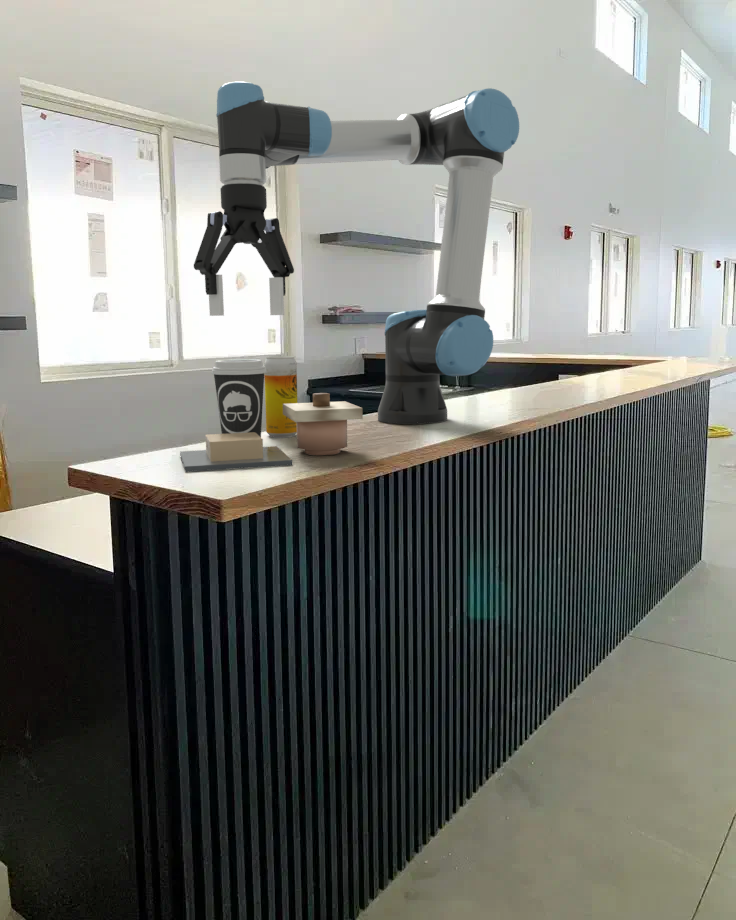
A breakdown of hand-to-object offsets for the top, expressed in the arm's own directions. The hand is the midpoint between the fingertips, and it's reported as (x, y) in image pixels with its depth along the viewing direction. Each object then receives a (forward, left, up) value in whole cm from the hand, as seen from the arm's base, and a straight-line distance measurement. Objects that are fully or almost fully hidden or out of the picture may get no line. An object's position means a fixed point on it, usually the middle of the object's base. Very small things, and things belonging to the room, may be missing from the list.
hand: (248, 315), depth 134 cm
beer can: (-7, -11, -23) cm, 26 cm away
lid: (-10, +10, -17) cm, 22 cm away
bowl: (-10, +10, -23) cm, 27 cm away
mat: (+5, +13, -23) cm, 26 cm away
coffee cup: (+2, -1, -23) cm, 23 cm away
